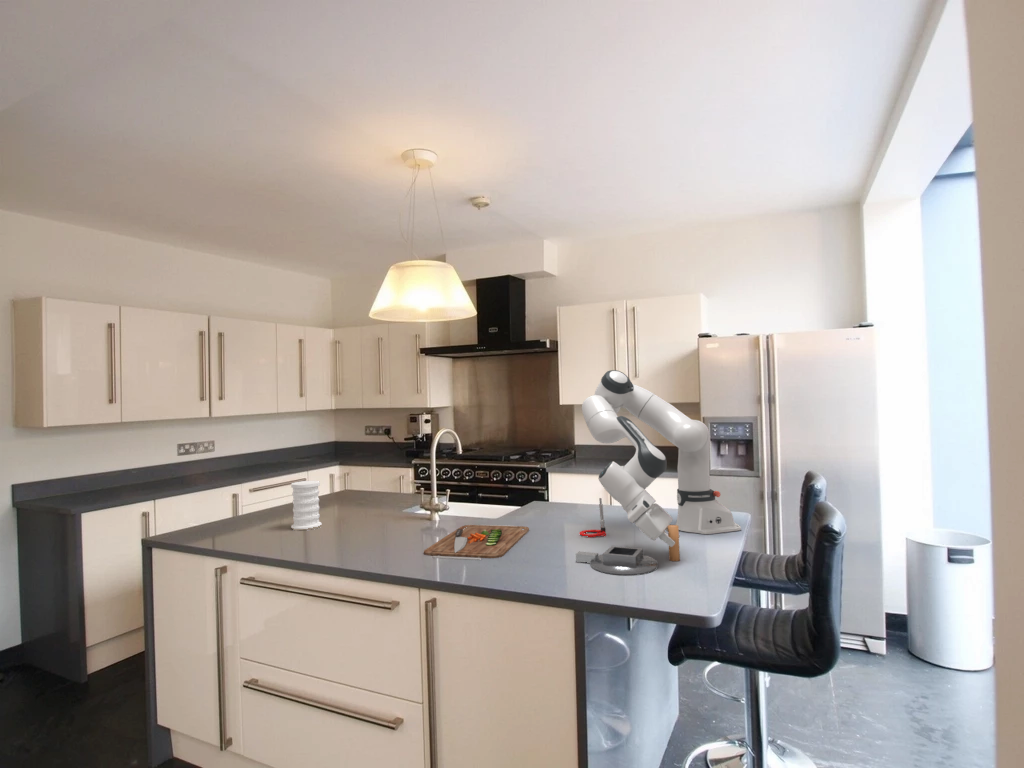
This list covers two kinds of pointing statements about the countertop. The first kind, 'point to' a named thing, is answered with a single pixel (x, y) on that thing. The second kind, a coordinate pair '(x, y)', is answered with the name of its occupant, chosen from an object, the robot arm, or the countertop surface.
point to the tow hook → (602, 523)
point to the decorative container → (305, 504)
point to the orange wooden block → (674, 550)
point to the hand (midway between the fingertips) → (676, 541)
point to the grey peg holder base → (619, 561)
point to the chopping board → (477, 542)
